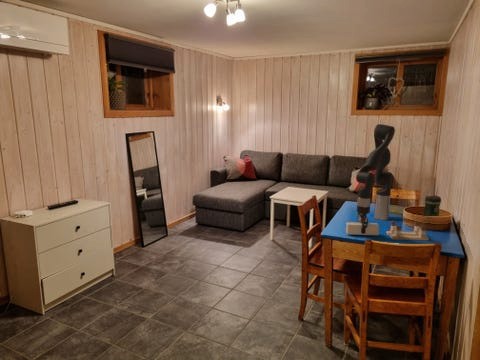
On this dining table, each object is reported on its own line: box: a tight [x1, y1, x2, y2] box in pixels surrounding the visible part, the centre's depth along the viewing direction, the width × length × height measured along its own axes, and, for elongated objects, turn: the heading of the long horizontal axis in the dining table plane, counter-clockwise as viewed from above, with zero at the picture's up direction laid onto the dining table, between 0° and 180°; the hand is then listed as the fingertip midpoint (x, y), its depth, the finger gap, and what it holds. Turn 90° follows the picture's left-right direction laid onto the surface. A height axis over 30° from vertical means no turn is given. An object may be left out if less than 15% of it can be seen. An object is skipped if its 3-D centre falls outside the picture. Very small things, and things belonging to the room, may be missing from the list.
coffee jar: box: [423, 195, 442, 217], centre depth 230 cm, size 10×8×19 cm
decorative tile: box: [389, 204, 406, 217], centre depth 258 cm, size 19×20×4 cm
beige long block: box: [345, 221, 380, 236], centre depth 207 cm, size 5×18×6 cm, turn 83°
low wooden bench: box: [386, 220, 430, 241], centre depth 203 cm, size 11×20×8 cm, turn 87°
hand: (361, 231), depth 208 cm, fingers closed on beige long block, 5 cm apart
